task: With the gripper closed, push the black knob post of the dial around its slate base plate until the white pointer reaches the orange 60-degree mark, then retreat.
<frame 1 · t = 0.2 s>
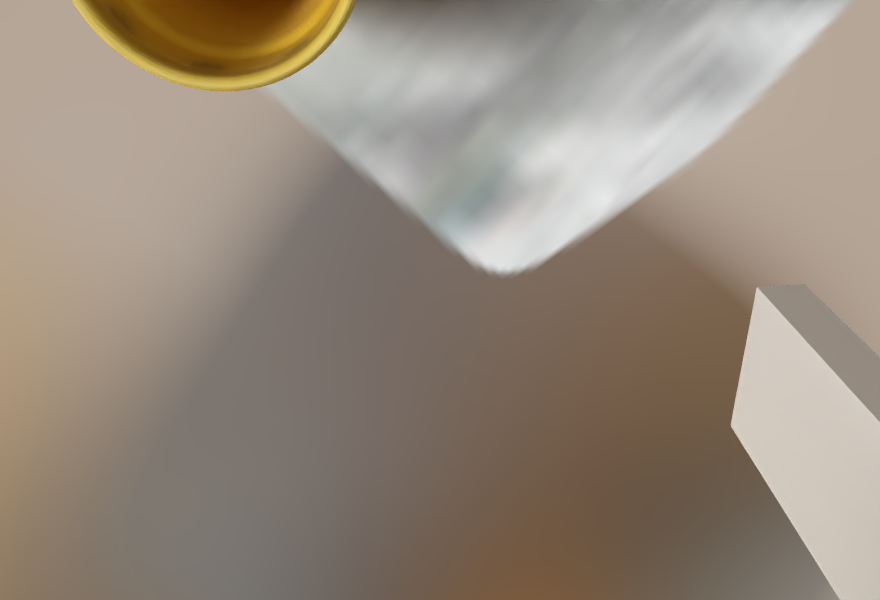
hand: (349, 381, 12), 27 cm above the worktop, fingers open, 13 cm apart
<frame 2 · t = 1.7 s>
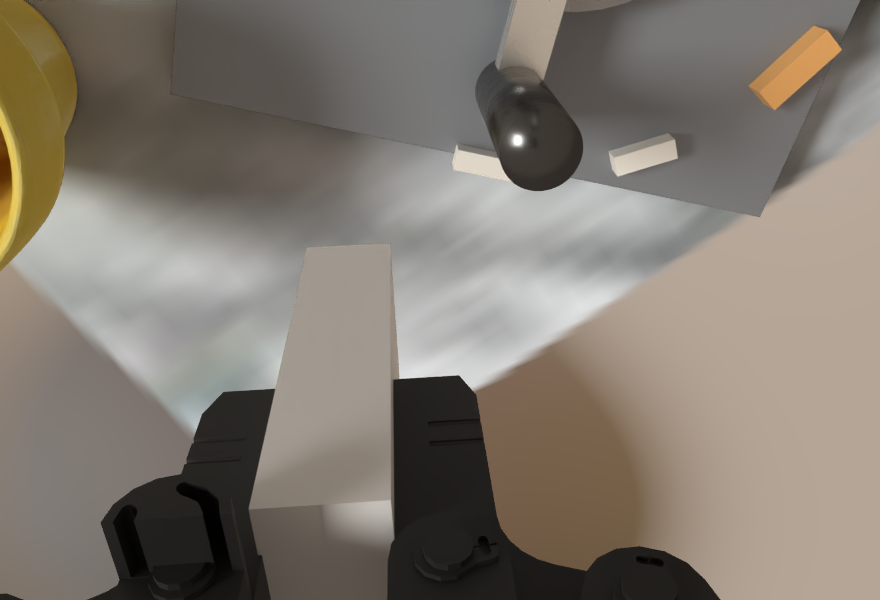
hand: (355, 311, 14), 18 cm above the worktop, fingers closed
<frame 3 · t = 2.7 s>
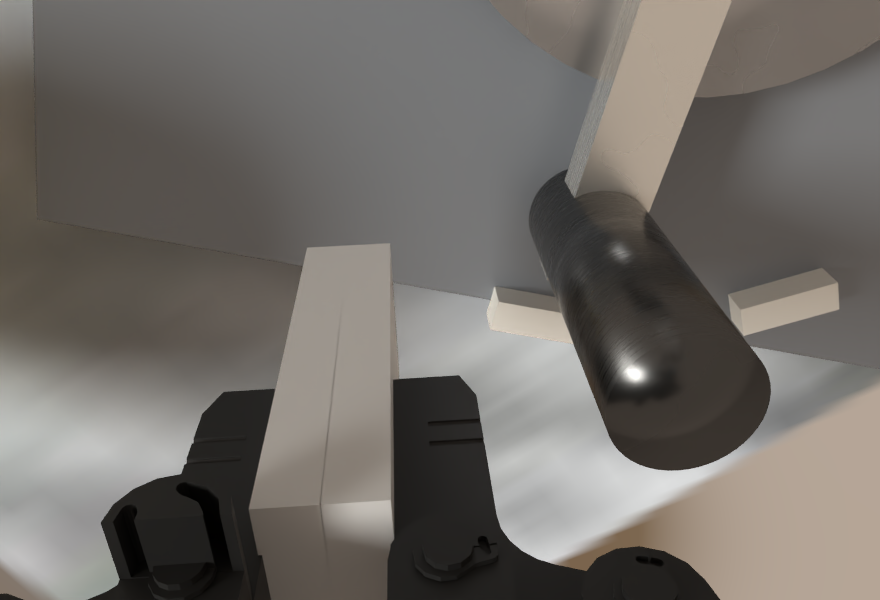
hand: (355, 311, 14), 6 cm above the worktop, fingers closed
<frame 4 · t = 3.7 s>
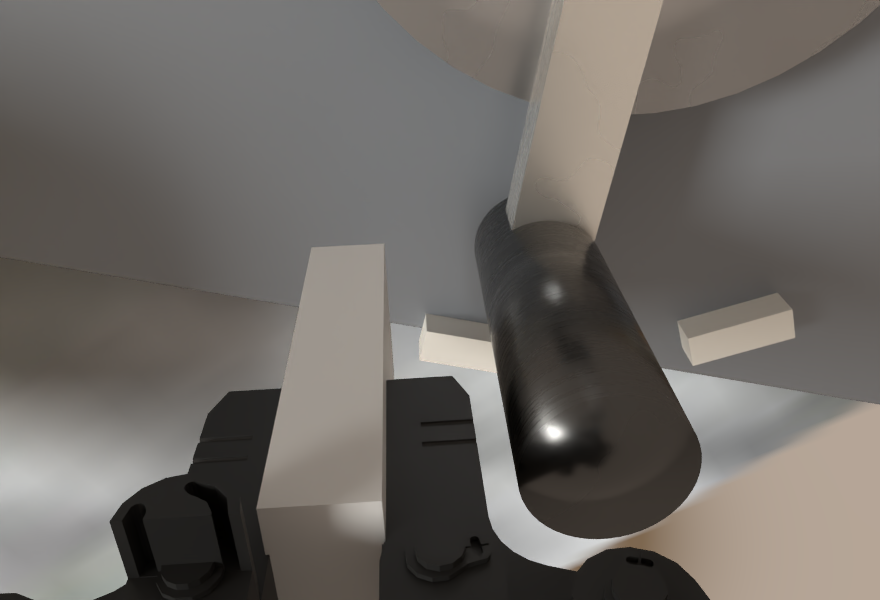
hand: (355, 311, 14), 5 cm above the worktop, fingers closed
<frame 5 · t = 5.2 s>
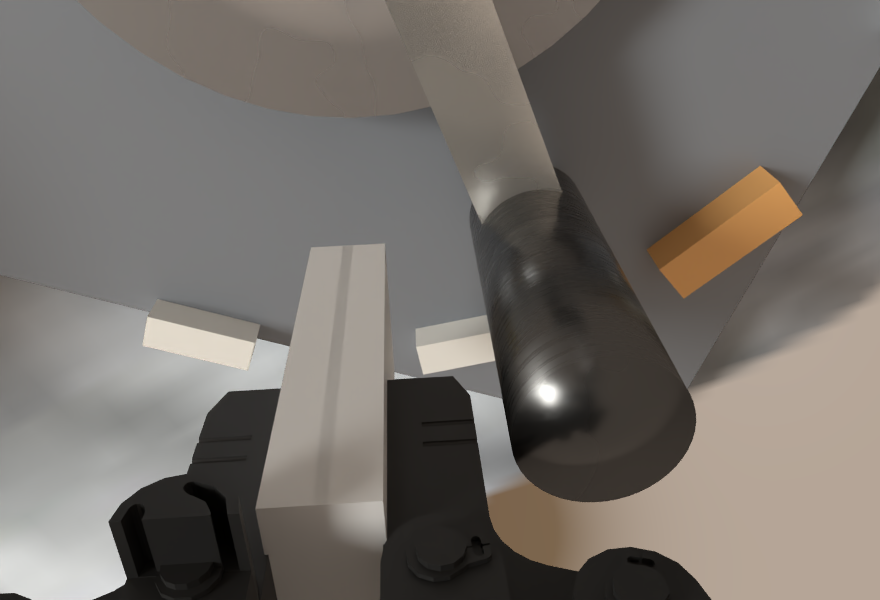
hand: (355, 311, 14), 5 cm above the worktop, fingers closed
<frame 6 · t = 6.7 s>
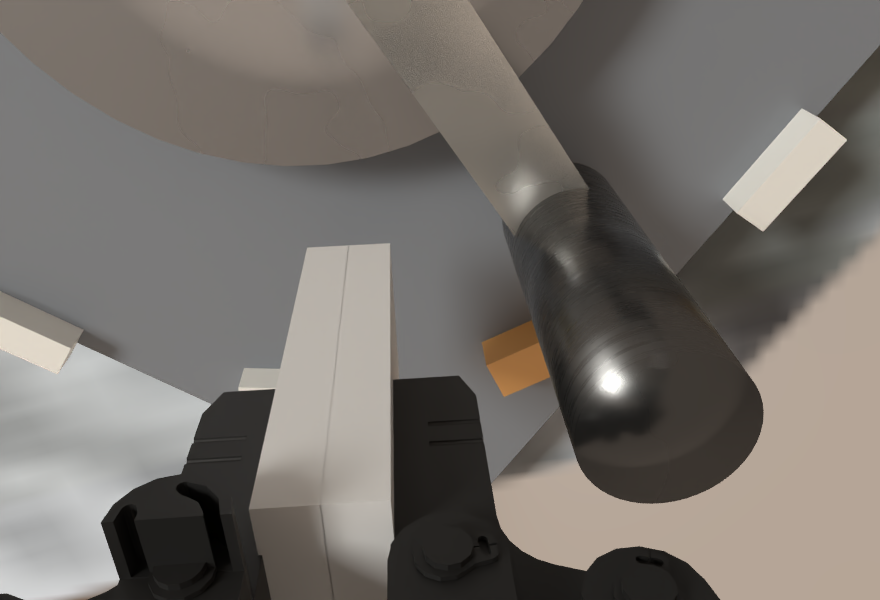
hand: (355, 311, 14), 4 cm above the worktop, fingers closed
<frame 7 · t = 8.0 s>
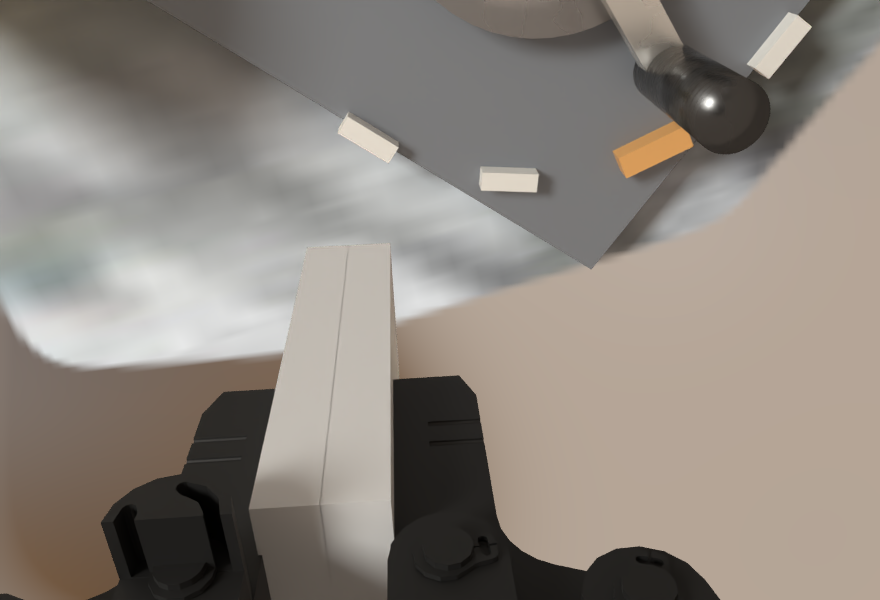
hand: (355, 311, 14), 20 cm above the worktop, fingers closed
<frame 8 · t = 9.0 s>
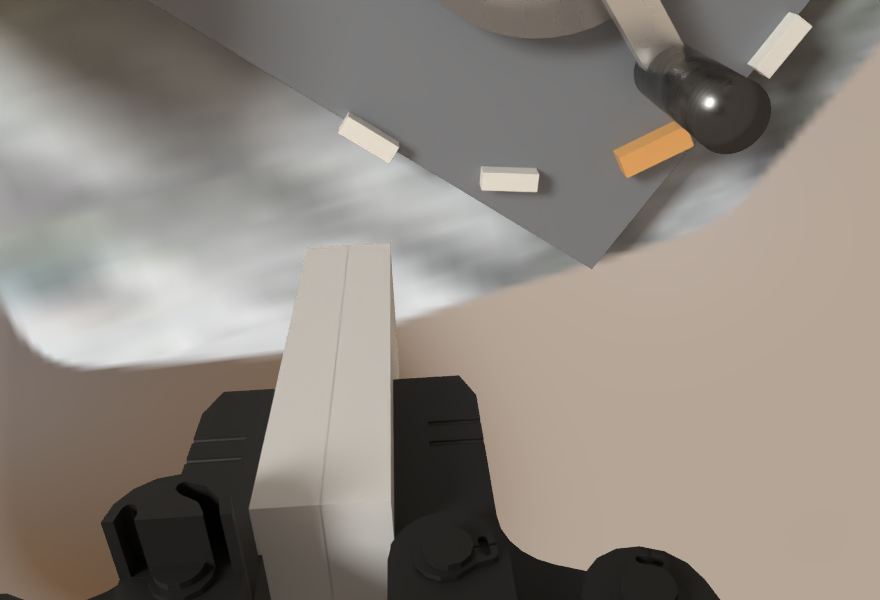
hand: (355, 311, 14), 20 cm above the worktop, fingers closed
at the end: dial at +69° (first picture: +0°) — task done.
